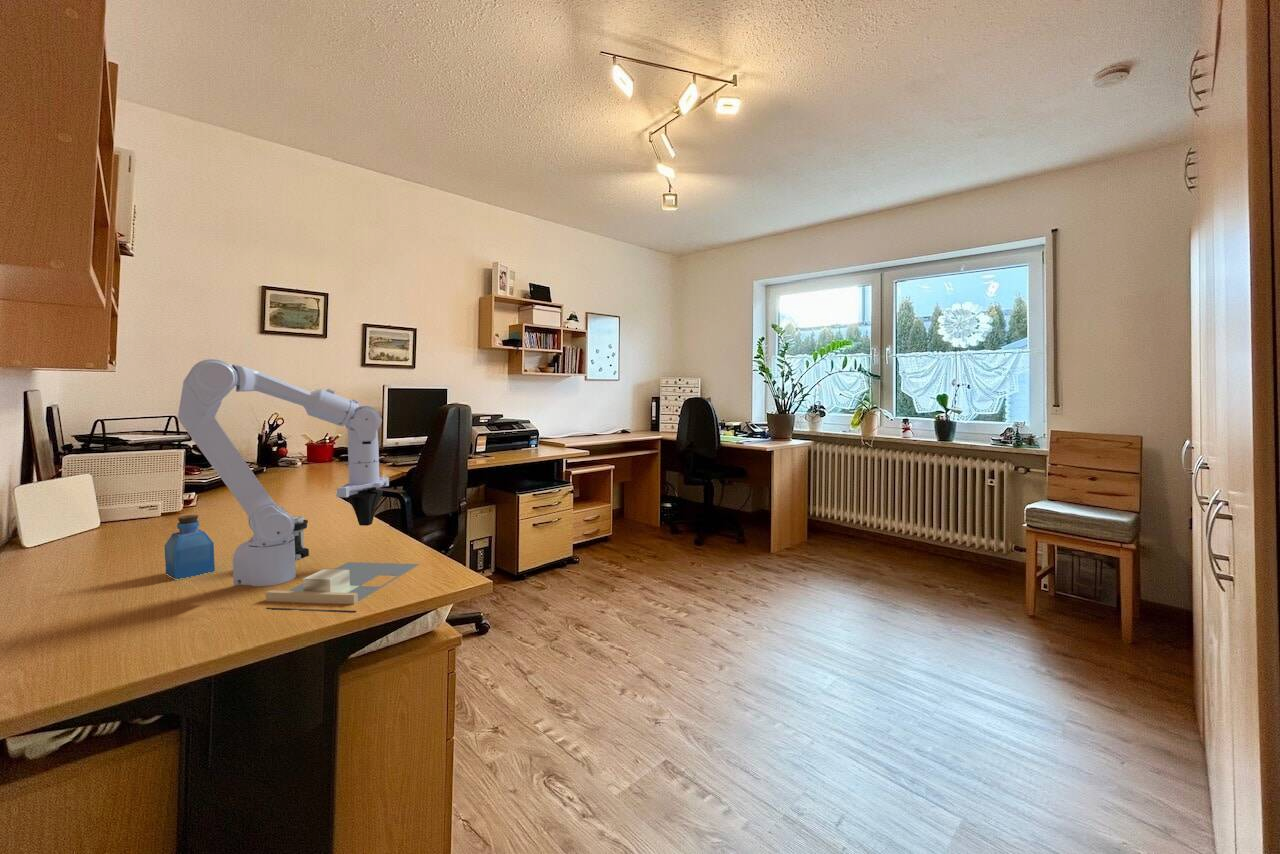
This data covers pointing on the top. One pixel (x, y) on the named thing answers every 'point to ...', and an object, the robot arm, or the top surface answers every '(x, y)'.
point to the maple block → (327, 581)
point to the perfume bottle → (189, 550)
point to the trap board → (358, 577)
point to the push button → (299, 537)
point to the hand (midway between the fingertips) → (365, 524)
